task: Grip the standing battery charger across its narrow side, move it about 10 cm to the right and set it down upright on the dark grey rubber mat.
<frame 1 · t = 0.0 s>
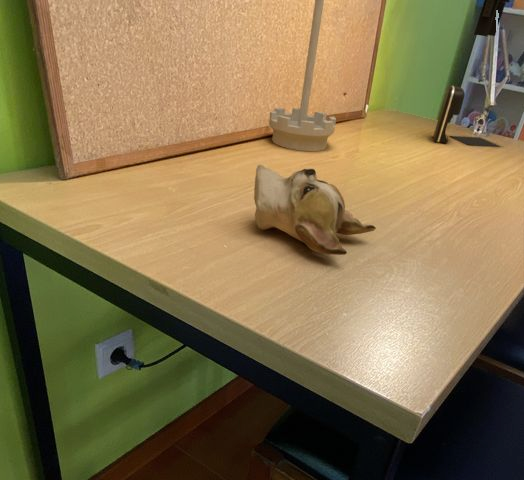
hand: (484, 35, 114), 21 cm above the table, tool pointing down, fingers open, 13 cm apart
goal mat: (474, 141, 123), on the table
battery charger: (441, 141, 119), on the table
flag stand: (299, 144, 102), on the table
ceramic sculpture: (302, 240, 62), on the table
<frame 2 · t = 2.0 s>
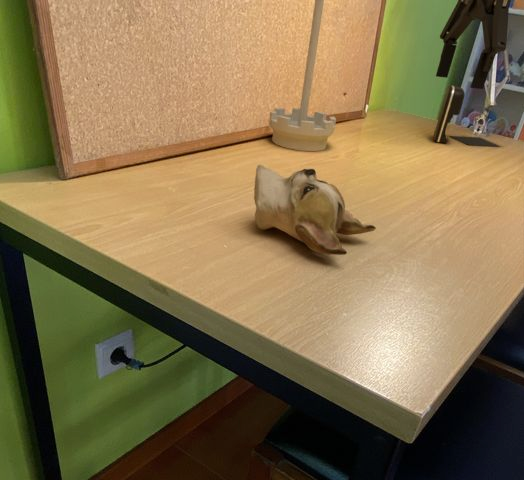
hand: (458, 82, 112), 12 cm above the table, tool pointing down, fingers open, 13 cm apart
nothing on the table moved.
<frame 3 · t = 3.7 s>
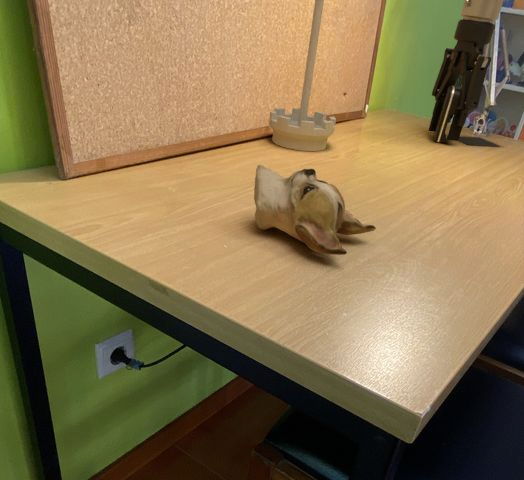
hand: (442, 135, 119), 1 cm above the table, tool pointing down, fingers closed on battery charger, 7 cm apart
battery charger: (441, 141, 119), on the table, touching gripper
everything else where it was.
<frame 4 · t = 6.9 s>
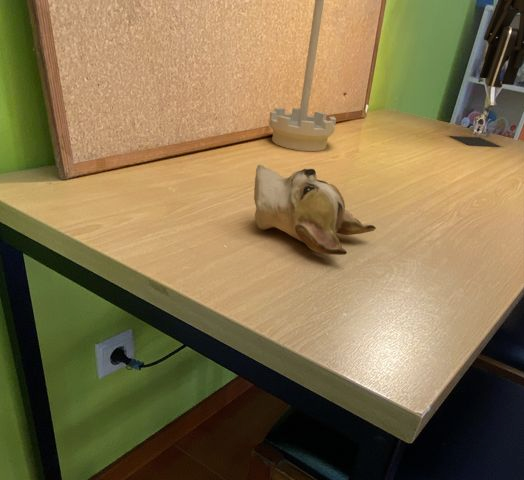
hand: (495, 81, 114), 13 cm above the table, tool pointing down, fingers closed on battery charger, 7 cm apart
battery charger: (493, 87, 115), point 12 cm above the table, touching gripper
everything else where it was.
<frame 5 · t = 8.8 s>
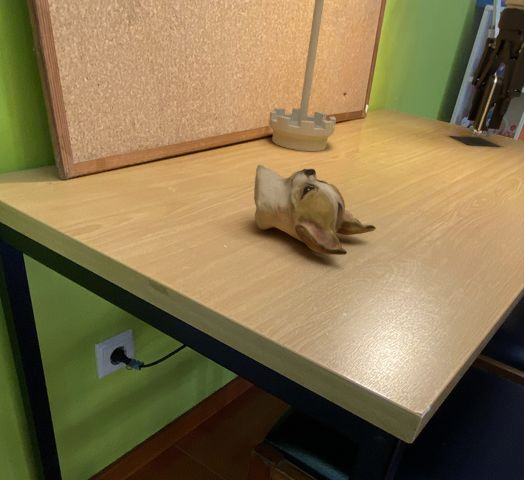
hand: (482, 124, 120), 4 cm above the table, tool pointing down, fingers closed on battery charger, 7 cm apart
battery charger: (480, 130, 120), point 3 cm above the table, touching gripper
everything else where it was.
when the fingers open (1 cm above the table, at t = 10.0 s): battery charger stays where it is, resting on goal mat.
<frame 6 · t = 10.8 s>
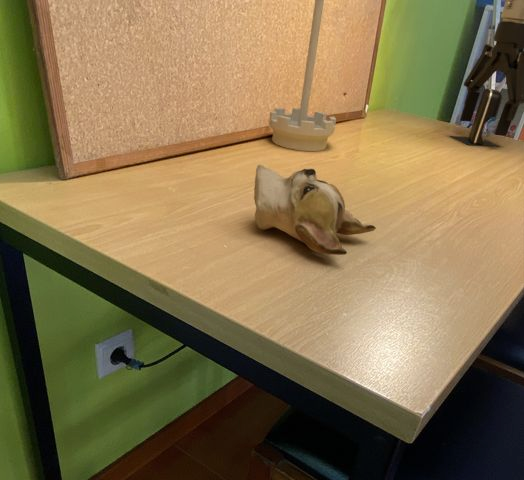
hand: (481, 127, 120), 3 cm above the table, tool pointing down, fingers open, 13 cm apart
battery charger: (476, 143, 122), resting on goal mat
everything else where it was.
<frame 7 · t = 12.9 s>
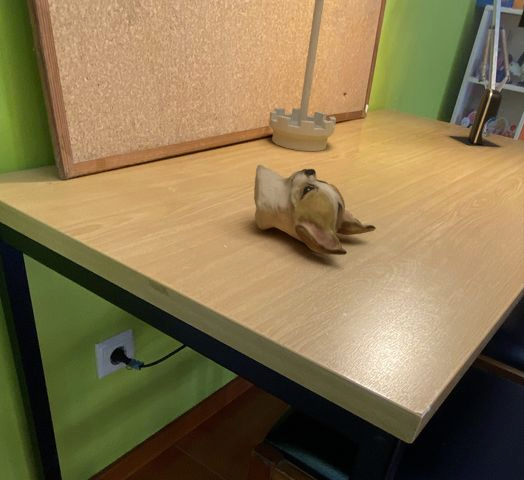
nothing on the table moved.
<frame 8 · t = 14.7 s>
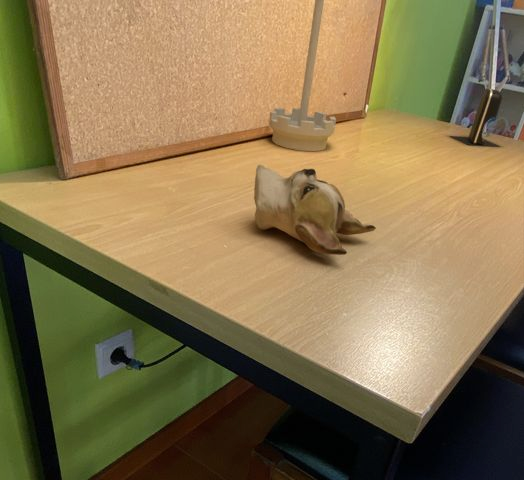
nothing on the table moved.
at the end: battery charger inside the target area (1.1 cm from its centre), resting on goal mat; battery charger tilted 0°; the gripper is holding nothing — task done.
